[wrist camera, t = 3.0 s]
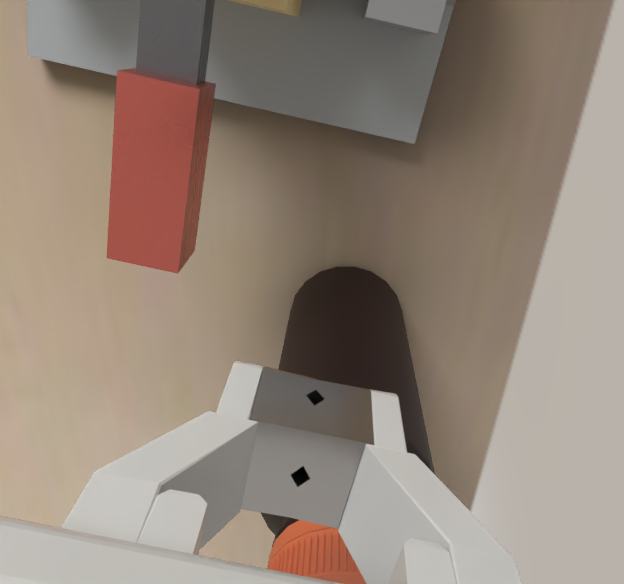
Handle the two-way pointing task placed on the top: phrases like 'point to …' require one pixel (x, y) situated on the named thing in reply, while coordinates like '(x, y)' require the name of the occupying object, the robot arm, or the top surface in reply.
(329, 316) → the bottle
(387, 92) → the valve assembly
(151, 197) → the lever
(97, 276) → the top surface
